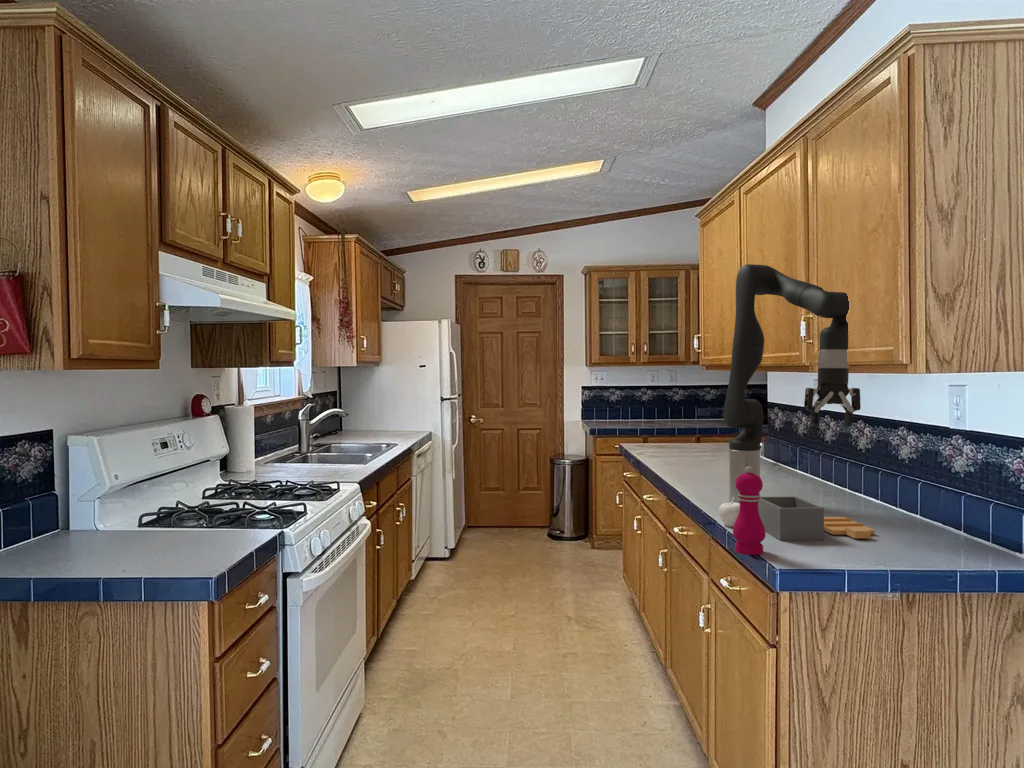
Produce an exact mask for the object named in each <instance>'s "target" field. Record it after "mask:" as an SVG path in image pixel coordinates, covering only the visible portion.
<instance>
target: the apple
mask: <svg viewBox="0 0 1024 768" xmlns="http://www.w3.org/2000/svg"><path fill="white" fill-rule="evenodd" d="M733 500H734V497H733V498H732V501H731V503H730V502H724V503H722V504H720V506H719V508H718V514H719V515H718V516H719V517H720V520H721V522H722V523H723V525H724V526H726V527H729V528H733V527H734V524H735V521H736V519H737V517H738V514H739V509H740V503H735V502H734V503H733Z"/></svg>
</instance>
